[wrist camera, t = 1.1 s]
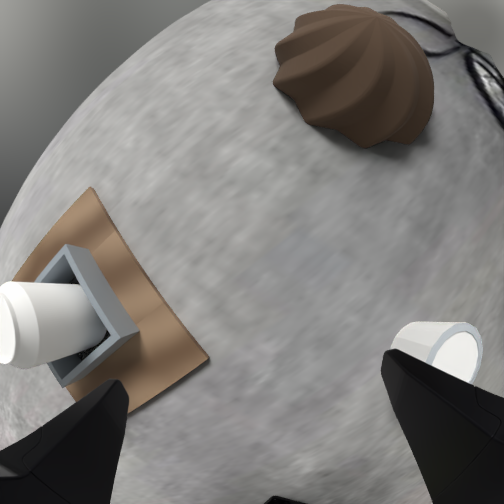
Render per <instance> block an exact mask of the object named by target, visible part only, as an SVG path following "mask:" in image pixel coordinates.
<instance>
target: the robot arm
mask: <svg viewBox="0 0 504 504" xmlns="http://www.w3.org/2000/svg"><path fill="white" fill-rule="evenodd" d="M381 375H382V378H383V381H384V384H385V387H386V389H387V392H388V395H389V398H390V401H391V404H392V407H393V410H394V412H395V415H396V417H397V419H398V421H399V423H400V425H401V428H402V430H403V432H404V434H405V436H406V439H407V441H408V443H409V445H410V448H411V450H412V452H413V455H414V457H415V459H416V462H417V464H418V466H419V469H420V471H421V474H422V476H423V479H424V481H425V484H426V486H427V489H428V491H429V494H430V497H431V499H432V500H433V501H432V502H433V504H504V398H503V397H500V396H497V395H495V394H492V393H490V392H487V391H485V390H483V389H481V388H478V387H476V386H475V387H474V385H472V384H470V383H467V382H465V381H463V380H461V379H459V378H457V377H455V376H453V375H450V374H448V373H446V372H444V371H442V370H440V369H438V368H436V367H434V366H432V365H430V364H427V363H425V362H423V361H421V360H419V359H417V358H415V357H413V356H411V355H409V354H407V353H405V352H403V351H401V350H399V349H396V348H394V349H391V350H387V351H385V353H384V355H383V361H382V366H381ZM128 407H129V395H128V393H127V391H126V390H125V388H124V386H123V384H122V382H121V381H120V380H119V379H108V380H107V381H105V382H104V383H102V384H101V385H100V386H98V387H97V388H95V389H94V390H93V391H91V392H90V393H88V394H87V395H86V396H84V397H83V398H81V399H80V400H79V401H77V402H76V403H74V404H73V405H72V406H70V407H69V408H67V409H66V410H64V411H63V412H62V413H60V414H59V415H57V416H56V417H54V418H53V419H52V420H50V421H49V422H47V423H46V424H44V425H43V427H42V426H41V427H40V428H38V429H37V430H36V431H34V432H33V433H31V434H29V435H28V436H26V437H25V438H23V439H21V440H19V441H18V442H16V443H14V444H12V445H10V446H8V447H7V448H5V449H3V450H1V451H0V504H110V500H111V494H112V489H113V484H114V479H115V474H116V470H117V465H118V461H119V456H120V452H121V448H122V444H123V439H124V435H125V428H126V421H127V414H128ZM274 499H276V500H274ZM264 504H306V503H302V502H297V501H293V500H290V499H286V498H282V497H279V496H272V497H271V498H270V499H269V500H268V501H266V502H265V503H264Z"/></svg>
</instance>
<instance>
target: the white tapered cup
mask: <svg viewBox="0 0 504 504" xmlns="http://www.w3.org/2000/svg"><path fill="white" fill-rule="evenodd" d="M394 348H396V349H399V350H401V351H403V352H405V353H407V354H409V355H411V356H413V357H415V358H417V359H419V360H421V361H423V362H425V363H427V364H430V365H432V366H434V367H436V368H438V369H440V370H442V371H444V372H446V373H448V374H450V375H453V376H455V377H457V378H459V379H461V380H463V381H465V382H467V383H470V384H472V383H473V382H474V380H475V378H476V375H477V373H478V371H479V368H480V365H481V359H482V353H483V349H482V340H481V336H480V334H479V332H478V331H477V329H476V327H474V326H472V325H470V324H469V323H467V322H412V323H410V324H408V325H406V326H405V327H403V328H402V329H401V330H400V331H399V333H398V334H397V335H396V336H395V338H394V340H393V343H392V345H391V347H390V350H391V349H394Z"/></svg>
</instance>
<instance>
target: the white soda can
mask: <svg viewBox="0 0 504 504" xmlns="http://www.w3.org/2000/svg"><path fill="white" fill-rule="evenodd" d="M106 331H107V328H106V327H105V325H104V324H103V322H102V321H101V319H100V318H99V316H98V314H97V313H96V311H95V310H94V308H93V306H92V305H91V303H90V301H89V299H88V298H87V296H86V294H85V292H84V291H83V289H82V287H81V285H80V284H55V283H31V282H6V283H4V284H3V285H2V286H0V363H1V364H4V365H7V364H10V365H12V366H15V367H17V368H20V369H29V368H33V367H36V366H39V365H42V364H45V363H48V362H51V361H54V360H57V359H60V358H63V357H66V356H69V355H72V354H75V353H78V352H81V351H84V350H86V349H89V348H92V347H94V346H96V345H97V344H99V343H100V342H101V341H102V340H103V338H104V336H105V334H106Z"/></svg>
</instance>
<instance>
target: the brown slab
mask: <svg viewBox="0 0 504 504" xmlns="http://www.w3.org/2000/svg"><path fill="white" fill-rule="evenodd" d="M65 244H69V245H73V246H77V247H82V248H86V249H89V251H90V253H91V254H92V256H93V258H94V260H95V261H96V263H97V265H98V267H99V268H100V270H101V272H102V274H103V275H104V277H105V279H106V280H107V282H108V283H109V285H110V287H111V288H112V290H113V291H114V293H115V295H116V296H117V298H118V299H119V301H120V302H121V304H122V305H123V307H124V308H125V310H126V311H127V313H128V314H129V316H130V317H131V319H132V320H133V322H134V323H135V324H136V326H137V327H138V329H139V330H140V331H139V332H138V333H137V334H135V335H134V336H133V337H132V338H131V339H129V340H128V341H127V342H126V343H125V344H123V345H122V346H121V347H120V348H119V349H117V350H116V351H115V352H114V353H113V354H111V355H110V356H109V357H108V358H107V359H105V360H104V361H103V362H102V363H101V364H99V365H98V366H97V367H96V368H95V369H93V370H92V371H91V372H90V373H89V374H88V375H86V376H85V377H84V378H82V379H80V380H78V381H76V382H74V383H72V384H70V385H68V386H66V388H67V390H68V391H69V393H70V394H71V395H72V397H73V398H74V400H75V401H76V402H77V401H79V400H80V399H81V398H83V397H84V396H86V395H87V394H88V393H90V392H91V391H93V390H94V389H95V388H97V387H98V386H100V385H101V384H102V383H104V382H105V381H107V380H108V379H119V380H120V381H121V382H122V384H123V386H124V388H125V390H126V391H127V393H128V395H129V407H128V413H130V412H131V411H133V410H134V409H136V408H137V407H139V406H140V405H142V404H144V403H145V402H147V401H148V400H150V399H151V398H153V397H154V396H156V395H157V394H159V393H160V392H162V391H163V390H165V389H166V388H167V387H169V386H170V385H172V384H173V383H175V382H176V381H178V380H179V379H180V378H182V377H183V376H185V375H186V374H188V373H189V372H190V371H192V370H193V369H195V368H196V367H197V366H199V365H200V364H202V363H203V362H204V361H206V360H207V359H208V358H209V356H208V354H207V353H206V352H205V351H204V350H203V348H202V347H201V346H200V345H199V344H198V342H197V341H196V340H195V339H194V337H193V336H192V335H191V334H190V332H189V331H188V330H187V329H186V327H185V326H184V325H183V324H182V322H181V321H180V320H179V318H178V317H177V316H176V314H175V313H174V312H173V310H172V309H171V308H170V306H169V305H168V304H167V302H166V301H165V300H164V298H163V297H162V296H161V294H160V293H159V291H158V290H157V289H156V287H155V286H154V284H153V283H152V281H151V280H150V279H149V277H148V276H147V274H146V273H145V271H144V270H143V268H142V267H141V265H140V264H139V262H138V261H137V259H136V258H135V256H134V255H133V253H132V252H131V250H130V249H129V247H128V246H127V244H126V242H125V241H124V239H123V238H122V236H121V234H120V233H119V231H118V230H117V228H116V226H115V225H114V223H113V221H112V220H111V218H110V216H109V215H108V213H107V211H106V209H105V208H104V206H103V204H102V202H101V201H100V199H99V197H98V195H97V194H96V192H95V190H94V189H93V188H92V187H89V188H88V189H87V190H86V191H85V192H84V193H83V194H82V195H81V196H80V197H79V198H78V199H77V200H76V201H75V202H74V204H73V205H72V206H71V207H70V208H69V209H68V210H67V211H66V212H65V213H64V214H63V216H62V217H61V218H60V219H59V220H58V221H57V222H56V223H55V225H54V226H53V227H52V228H51V229H50V231H49V232H48V233H47V234H46V235H45V237H44V238H43V239H42V240H41V242H40V243H39V244H38V245H37V247H36V248H35V249H34V251H33V252H32V253H31V254H30V256H29V257H28V258H27V260H26V261H25V263H24V264H23V265H22V267H21V268H20V270H19V271H18V272H17V274H16V275H15V277H14V278H13V280H12V282H31V283H34V281H35V280H36V279H37V277H38V276H39V275H40V274H41V272H42V271H43V270H44V269H45V267H46V266H47V265H48V264H49V262H50V261H51V260H52V259H53V258H54V257H55V255H56V254H57V253H58V252H59V251H60V250H61V248H62V247H63V246H64V245H65Z"/></svg>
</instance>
